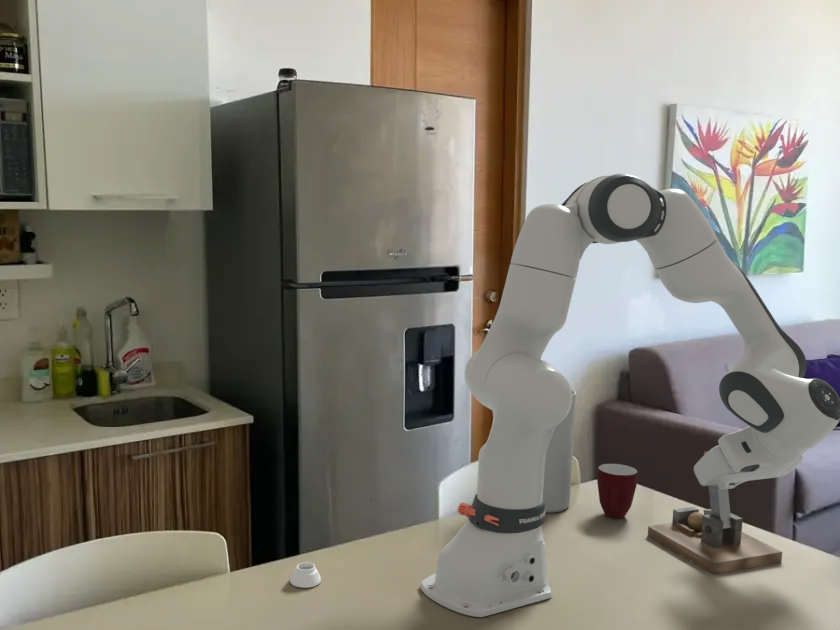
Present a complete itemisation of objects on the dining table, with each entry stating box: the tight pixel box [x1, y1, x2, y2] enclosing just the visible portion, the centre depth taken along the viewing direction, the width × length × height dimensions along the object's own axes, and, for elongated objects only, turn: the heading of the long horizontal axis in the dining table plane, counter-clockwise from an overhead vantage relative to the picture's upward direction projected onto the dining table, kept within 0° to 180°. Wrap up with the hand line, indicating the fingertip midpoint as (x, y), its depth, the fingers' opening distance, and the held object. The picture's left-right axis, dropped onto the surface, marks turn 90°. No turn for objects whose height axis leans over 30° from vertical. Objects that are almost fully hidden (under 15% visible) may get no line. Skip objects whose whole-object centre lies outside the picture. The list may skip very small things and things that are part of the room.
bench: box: [647, 506, 783, 575], centre depth 153 cm, size 16×18×7 cm
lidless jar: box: [289, 561, 322, 589], centre depth 133 cm, size 5×3×5 cm
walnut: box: [688, 512, 704, 531], centre depth 157 cm, size 4×4×4 cm
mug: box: [596, 463, 638, 520], centre depth 167 cm, size 11×8×10 cm
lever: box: [703, 451, 732, 529], centre depth 152 cm, size 3×5×14 cm, turn 23°
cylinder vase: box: [543, 389, 577, 514], centre depth 173 cm, size 12×12×25 cm
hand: (724, 485), depth 150 cm, fingers closed, pressing on lever
